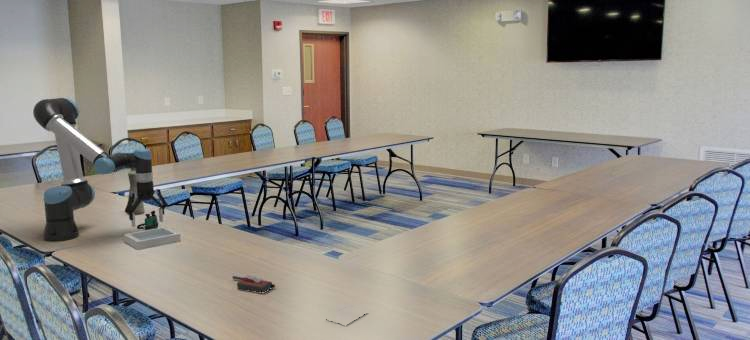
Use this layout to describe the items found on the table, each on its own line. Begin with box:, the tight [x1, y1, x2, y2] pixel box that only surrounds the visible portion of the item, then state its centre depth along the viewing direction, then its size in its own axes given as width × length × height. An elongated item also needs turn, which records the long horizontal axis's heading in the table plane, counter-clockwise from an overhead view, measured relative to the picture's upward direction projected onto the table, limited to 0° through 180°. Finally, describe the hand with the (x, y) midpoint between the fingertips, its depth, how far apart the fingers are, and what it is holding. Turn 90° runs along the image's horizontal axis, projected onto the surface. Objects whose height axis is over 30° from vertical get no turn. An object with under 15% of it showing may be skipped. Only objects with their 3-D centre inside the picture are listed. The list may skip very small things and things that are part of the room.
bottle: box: [126, 169, 145, 216], centre depth 326 cm, size 9×9×28 cm
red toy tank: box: [232, 275, 276, 293], centre depth 223 cm, size 9×4×20 cm
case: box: [123, 226, 181, 250], centre depth 277 cm, size 16×20×4 cm
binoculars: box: [136, 210, 159, 231], centre depth 290 cm, size 9×10×10 cm
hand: (147, 224), depth 290 cm, fingers open, 13 cm apart
